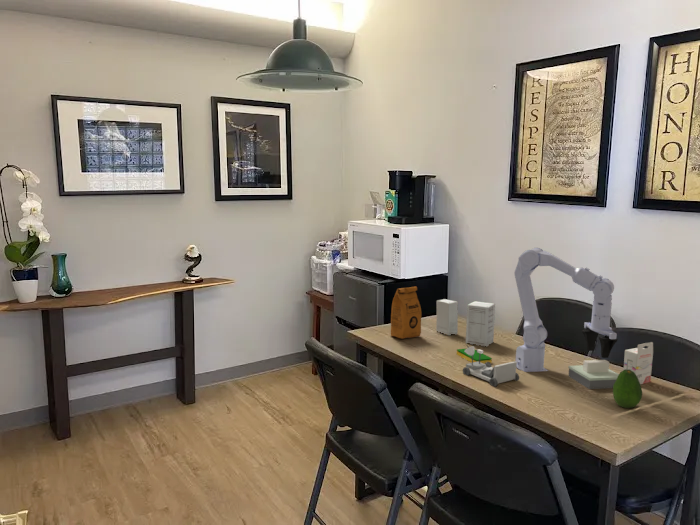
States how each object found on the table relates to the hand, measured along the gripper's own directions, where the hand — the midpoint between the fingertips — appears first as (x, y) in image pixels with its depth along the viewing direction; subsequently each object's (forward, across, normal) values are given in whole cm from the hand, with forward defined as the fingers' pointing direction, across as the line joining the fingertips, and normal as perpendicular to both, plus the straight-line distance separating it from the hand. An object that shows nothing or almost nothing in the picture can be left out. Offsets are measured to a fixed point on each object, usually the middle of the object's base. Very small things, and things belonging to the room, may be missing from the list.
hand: (597, 353), depth 184 cm
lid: (+6, -1, +1) cm, 7 cm away
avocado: (+10, -21, +4) cm, 24 cm away
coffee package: (+10, +61, +49) cm, 79 cm away
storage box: (+10, -1, +1) cm, 10 cm away
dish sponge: (+11, +29, +32) cm, 44 cm away
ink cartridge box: (+10, -3, -14) cm, 17 cm away
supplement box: (+10, +49, +21) cm, 54 cm away
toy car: (+11, +10, +35) cm, 38 cm away
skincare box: (+10, +65, +29) cm, 72 cm away
